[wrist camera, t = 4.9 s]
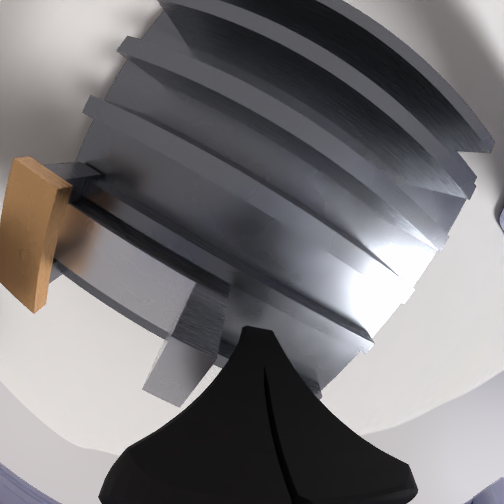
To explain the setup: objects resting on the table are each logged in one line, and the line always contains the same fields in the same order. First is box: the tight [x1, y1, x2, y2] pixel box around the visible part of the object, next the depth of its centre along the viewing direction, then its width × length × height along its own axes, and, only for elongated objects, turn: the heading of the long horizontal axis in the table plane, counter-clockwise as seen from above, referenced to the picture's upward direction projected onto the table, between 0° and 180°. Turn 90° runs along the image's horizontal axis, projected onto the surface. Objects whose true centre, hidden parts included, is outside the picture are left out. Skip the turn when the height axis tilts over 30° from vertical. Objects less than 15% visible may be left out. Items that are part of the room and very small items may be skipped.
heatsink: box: [0, 0, 495, 399], centre depth 8 cm, size 15×14×5 cm
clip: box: [54, 198, 231, 407], centre depth 8 cm, size 8×2×4 cm, turn 59°
